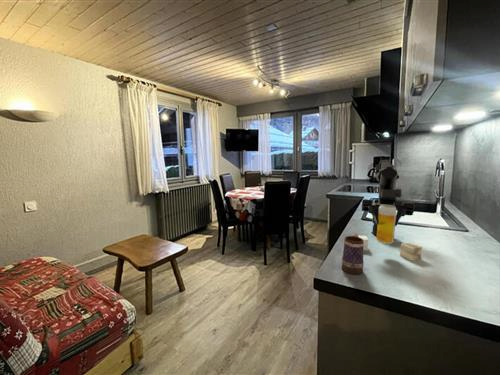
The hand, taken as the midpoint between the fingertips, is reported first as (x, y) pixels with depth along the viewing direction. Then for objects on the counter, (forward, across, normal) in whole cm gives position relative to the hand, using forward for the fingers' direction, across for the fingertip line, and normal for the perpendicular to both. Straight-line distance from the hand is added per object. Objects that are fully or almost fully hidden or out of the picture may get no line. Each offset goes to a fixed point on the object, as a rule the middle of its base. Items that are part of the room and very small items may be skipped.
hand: (386, 224), depth 92 cm
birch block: (+7, +9, +12) cm, 17 cm away
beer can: (+5, 0, +6) cm, 8 cm away
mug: (+22, -11, -3) cm, 24 cm away
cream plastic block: (+6, -9, +13) cm, 17 cm away
